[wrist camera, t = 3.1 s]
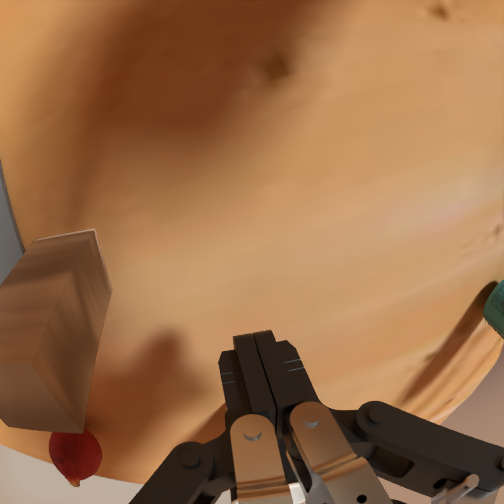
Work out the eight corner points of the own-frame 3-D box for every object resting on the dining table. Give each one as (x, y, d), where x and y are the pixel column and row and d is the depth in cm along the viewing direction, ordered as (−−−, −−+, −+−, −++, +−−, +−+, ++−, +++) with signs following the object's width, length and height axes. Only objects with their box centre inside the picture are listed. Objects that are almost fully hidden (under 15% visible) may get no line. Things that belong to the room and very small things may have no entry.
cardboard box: (35, 238, 16) (-46, 361, 7) (94, 228, 17) (30, 364, 8) (56, 295, 19) (8, 426, 9) (112, 289, 19) (83, 433, 10)
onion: (63, 432, 26) (56, 489, 20) (47, 405, 24) (35, 470, 17) (108, 437, 28) (106, 498, 21) (97, 411, 25) (91, 480, 18)
